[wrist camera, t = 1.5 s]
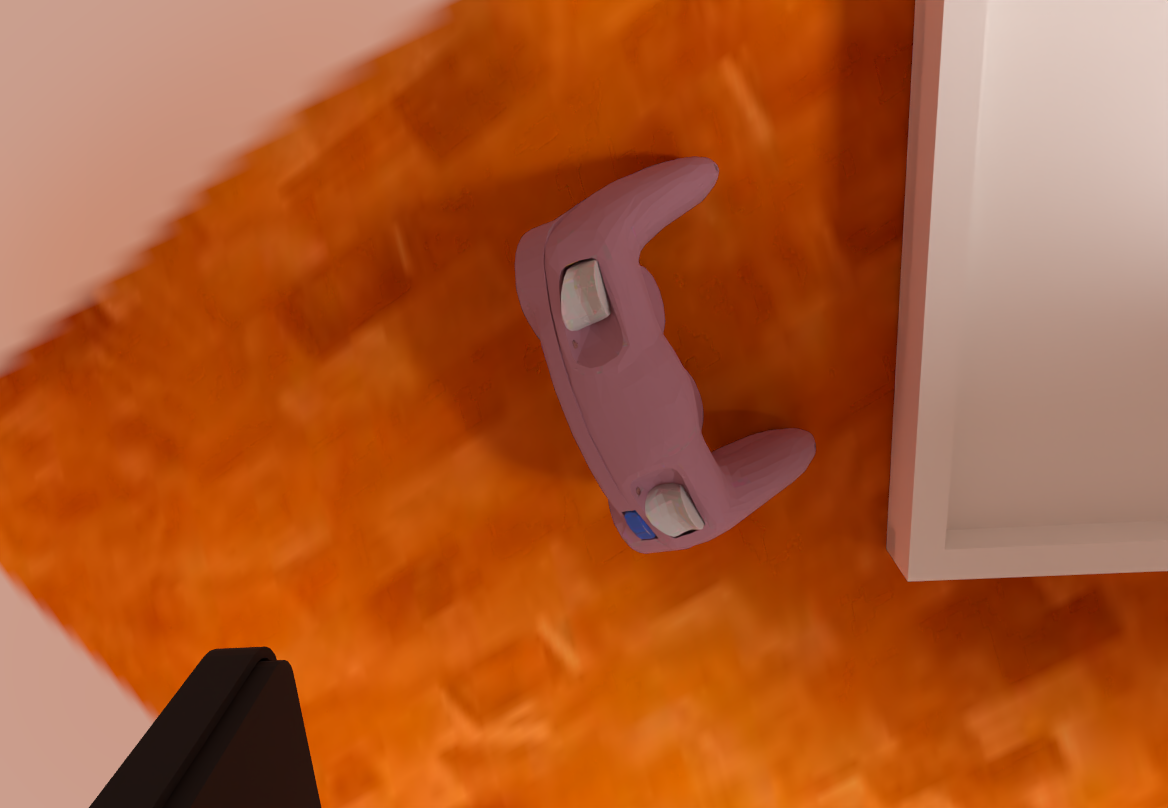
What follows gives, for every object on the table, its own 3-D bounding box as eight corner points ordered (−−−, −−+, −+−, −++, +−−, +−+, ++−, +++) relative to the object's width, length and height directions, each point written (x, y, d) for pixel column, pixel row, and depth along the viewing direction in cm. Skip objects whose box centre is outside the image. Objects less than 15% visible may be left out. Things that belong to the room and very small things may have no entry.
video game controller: (581, 187, 25) (446, 259, 19) (720, 132, 22) (610, 196, 17) (696, 472, 27) (607, 605, 22) (831, 452, 25) (768, 597, 19)
